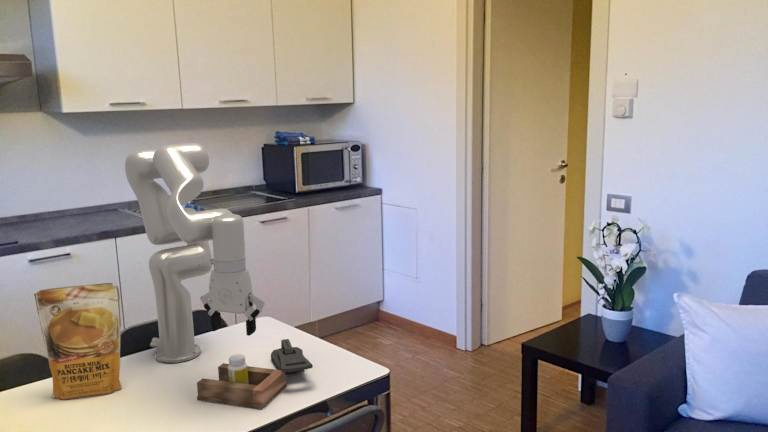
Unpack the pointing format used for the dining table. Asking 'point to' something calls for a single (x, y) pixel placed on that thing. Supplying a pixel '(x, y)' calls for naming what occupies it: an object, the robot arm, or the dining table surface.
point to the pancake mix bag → (82, 338)
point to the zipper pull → (289, 359)
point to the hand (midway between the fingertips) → (233, 331)
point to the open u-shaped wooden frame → (243, 388)
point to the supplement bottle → (238, 369)
